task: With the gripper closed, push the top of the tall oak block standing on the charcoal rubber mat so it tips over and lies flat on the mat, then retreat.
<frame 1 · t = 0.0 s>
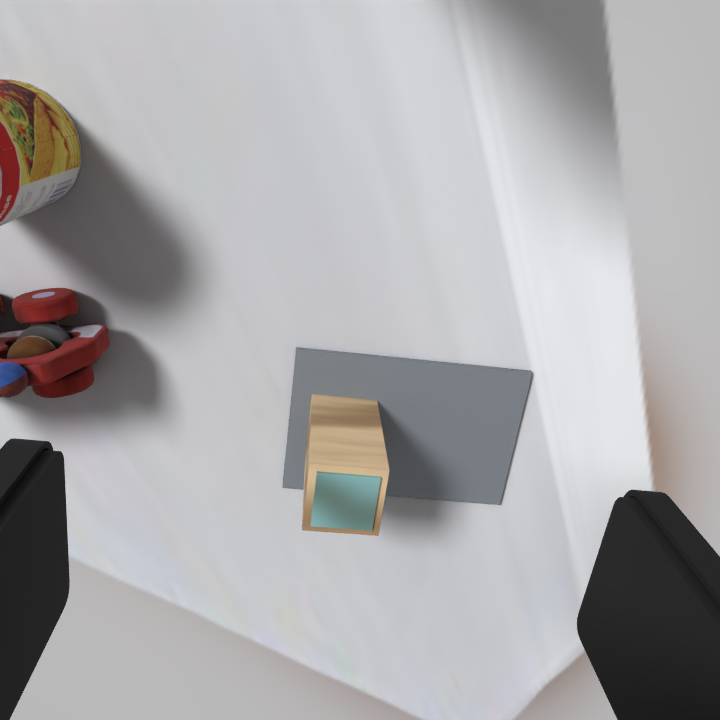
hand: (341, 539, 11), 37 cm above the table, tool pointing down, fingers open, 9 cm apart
canned food: (20, 145, 43), on the table
mat: (403, 429, 52), on the table
oak block: (340, 426, 51), resting on mat
toy fire truck: (32, 332, 48), on the table
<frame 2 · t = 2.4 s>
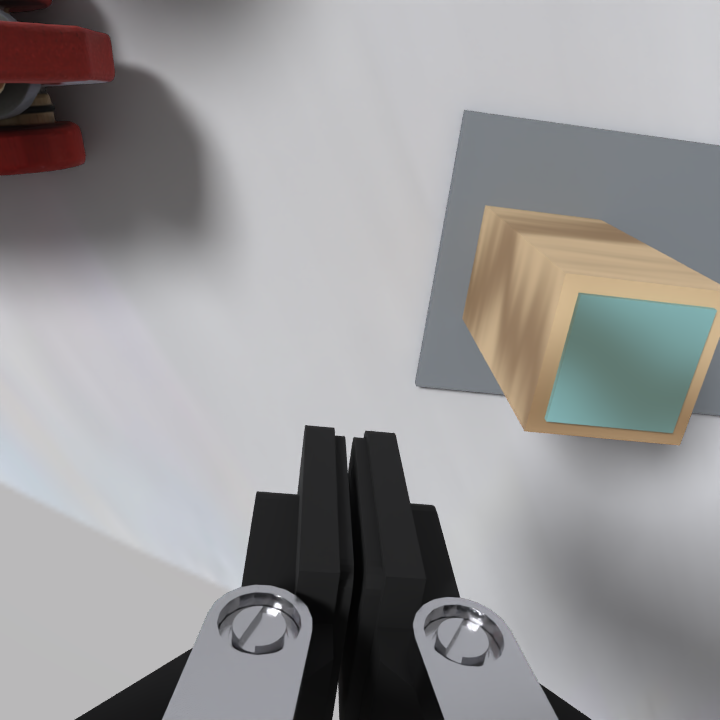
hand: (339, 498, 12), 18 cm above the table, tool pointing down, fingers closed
mat: (636, 280, 29), on the table
oak block: (529, 270, 29), resting on mat
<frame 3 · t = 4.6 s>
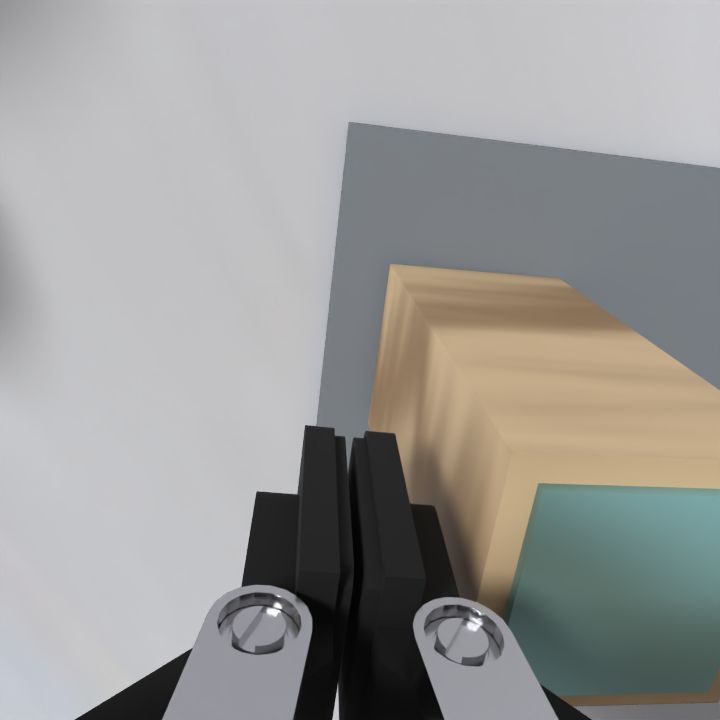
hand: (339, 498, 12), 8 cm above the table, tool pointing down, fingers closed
mat: (613, 360, 21), on the table
oak block: (460, 352, 20), point 1 cm above the table, touching gripper, mat
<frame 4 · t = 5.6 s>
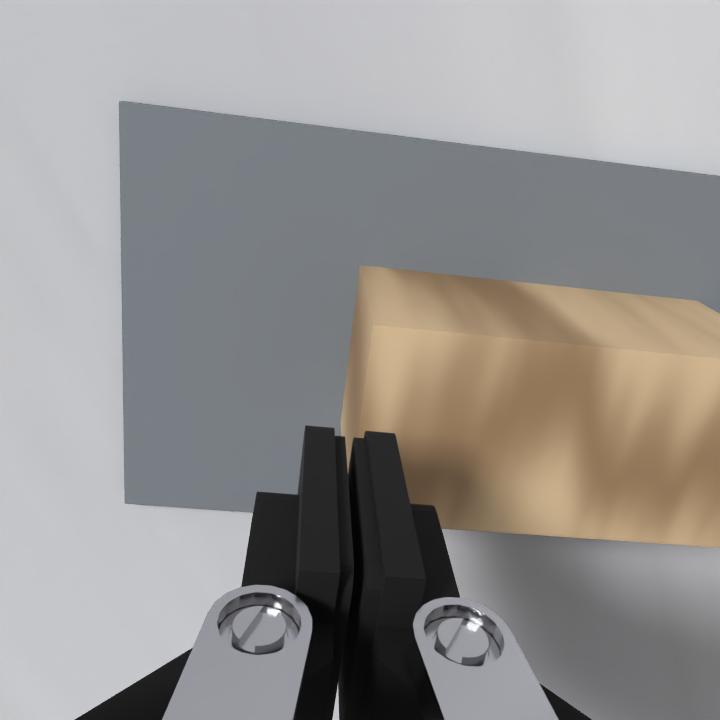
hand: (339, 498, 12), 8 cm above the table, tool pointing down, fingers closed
mat: (430, 350, 20), on the table
oak block: (353, 383, 17), point 3 cm above the table, tilted 90°, touching mat
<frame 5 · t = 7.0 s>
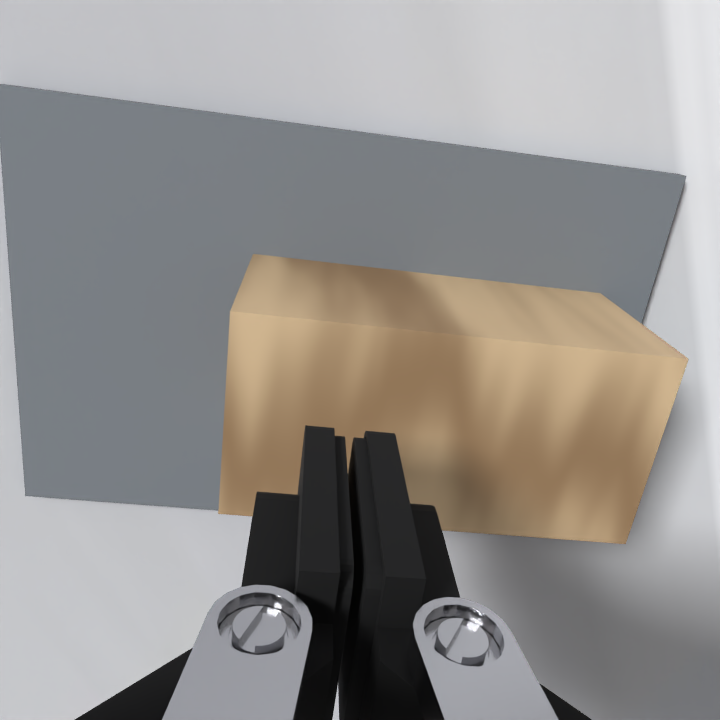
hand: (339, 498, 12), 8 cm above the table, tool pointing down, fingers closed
mat: (332, 342, 20), on the table
oak block: (237, 373, 17), point 3 cm above the table, tilted 90°, touching mat
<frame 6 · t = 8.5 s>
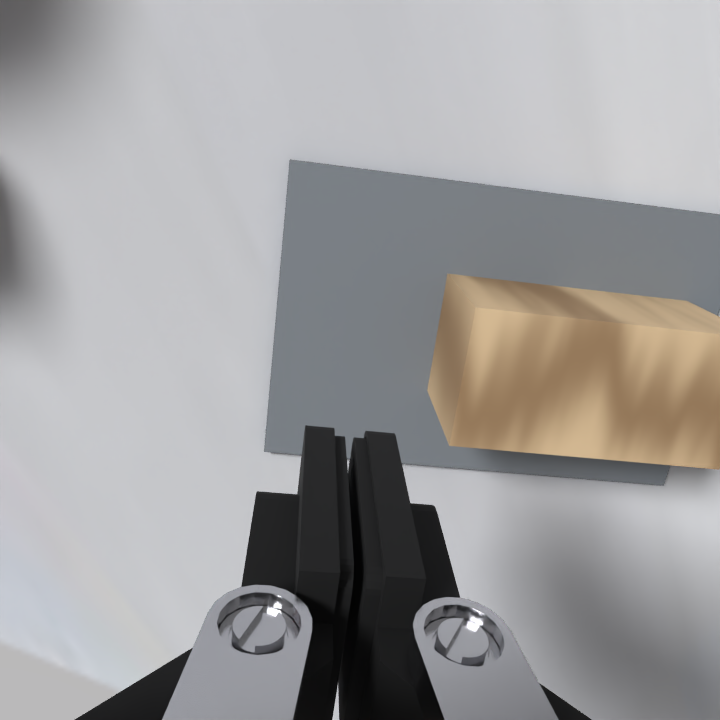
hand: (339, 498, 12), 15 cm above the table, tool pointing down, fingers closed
mat: (494, 337, 28), on the table
oak block: (448, 354, 25), point 3 cm above the table, tilted 90°, touching mat
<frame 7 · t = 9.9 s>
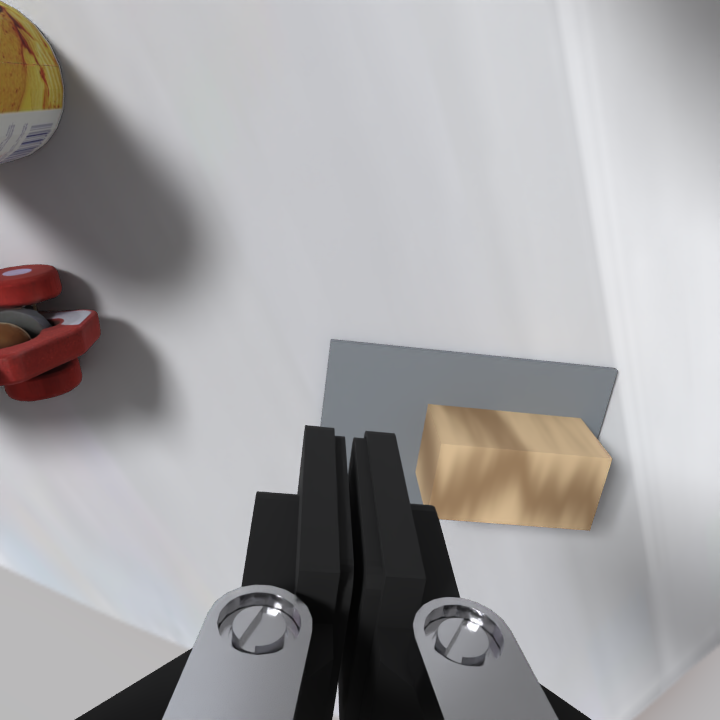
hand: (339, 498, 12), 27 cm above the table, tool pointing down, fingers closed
mat: (458, 439, 43), on the table
oak block: (427, 459, 40), point 3 cm above the table, tilted 90°, touching mat
toy fire truck: (5, 320, 39), on the table
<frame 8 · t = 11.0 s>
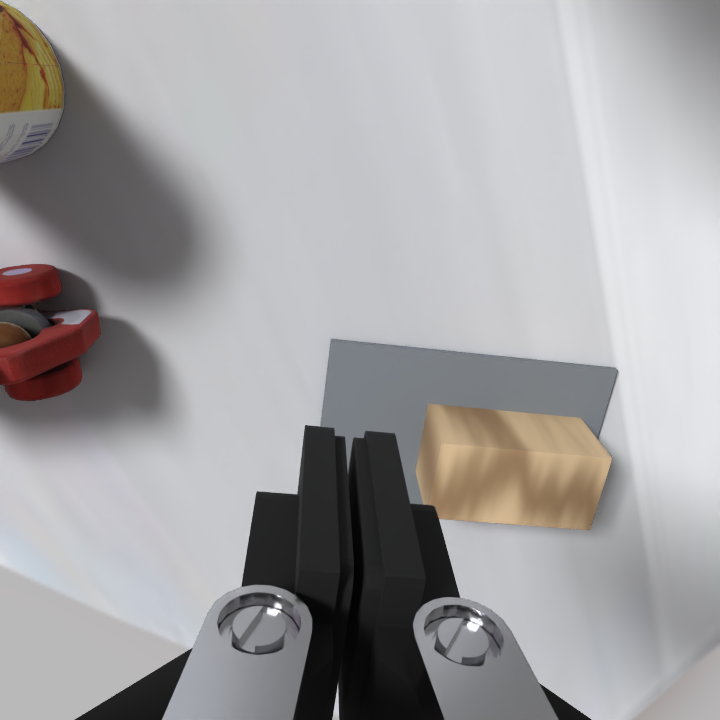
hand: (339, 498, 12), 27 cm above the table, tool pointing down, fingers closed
mat: (458, 438, 43), on the table
oak block: (427, 458, 40), point 3 cm above the table, tilted 90°, touching mat
toy fire truck: (5, 320, 39), on the table
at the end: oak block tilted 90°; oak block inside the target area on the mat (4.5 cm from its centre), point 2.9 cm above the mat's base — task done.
